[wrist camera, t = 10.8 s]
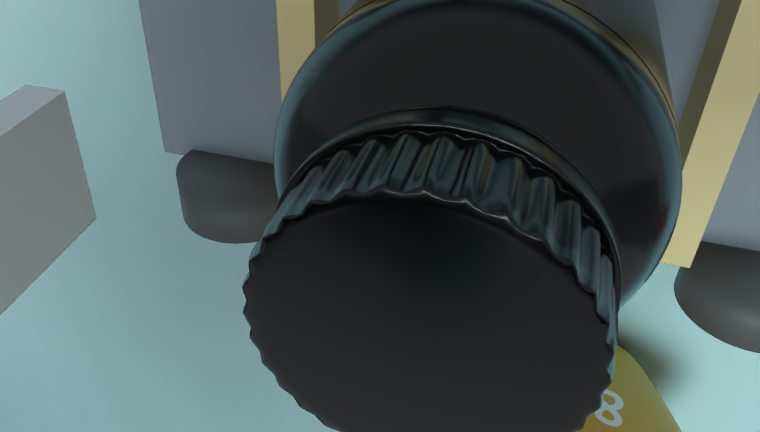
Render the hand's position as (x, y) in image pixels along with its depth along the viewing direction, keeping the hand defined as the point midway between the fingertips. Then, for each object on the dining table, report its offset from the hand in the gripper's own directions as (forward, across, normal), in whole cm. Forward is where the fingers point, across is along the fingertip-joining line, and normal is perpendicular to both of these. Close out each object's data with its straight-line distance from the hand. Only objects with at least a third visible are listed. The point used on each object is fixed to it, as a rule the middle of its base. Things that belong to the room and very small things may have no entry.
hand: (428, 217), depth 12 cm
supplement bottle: (+9, -1, 0) cm, 9 cm away
